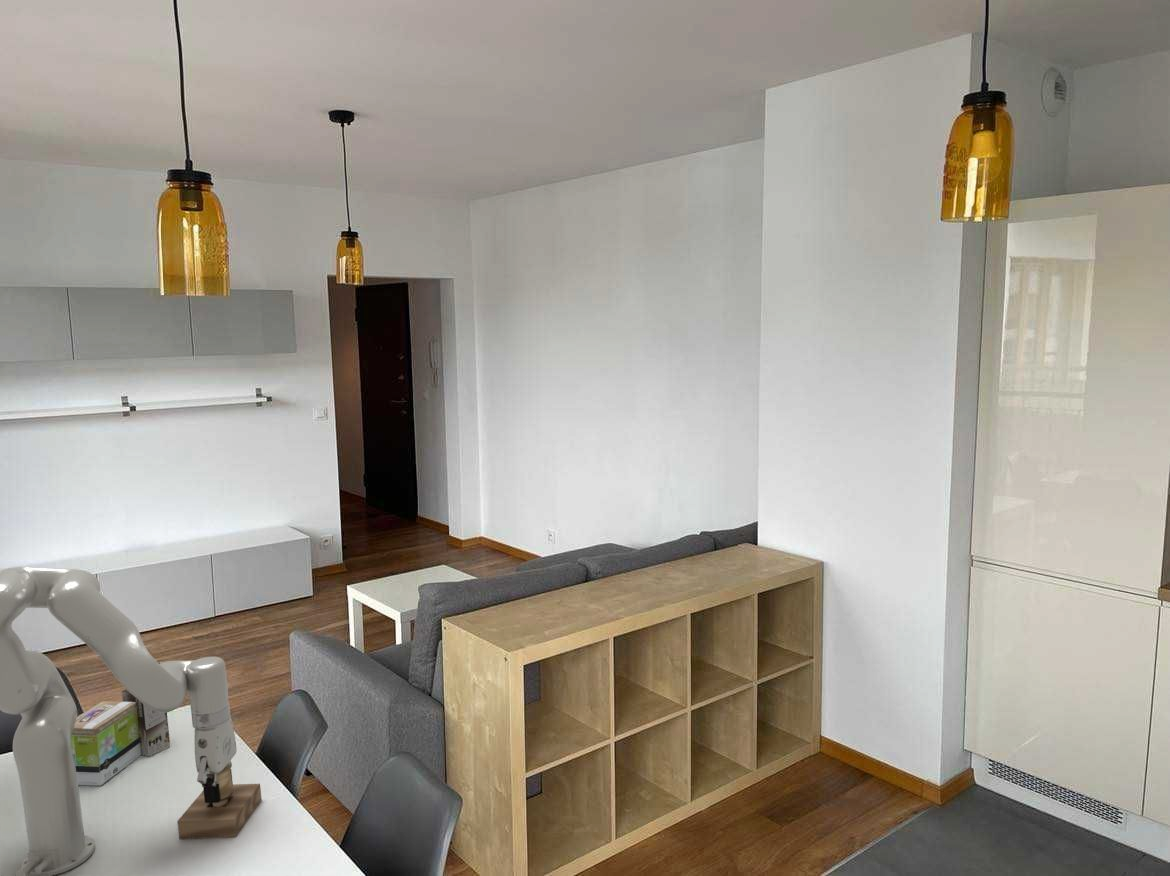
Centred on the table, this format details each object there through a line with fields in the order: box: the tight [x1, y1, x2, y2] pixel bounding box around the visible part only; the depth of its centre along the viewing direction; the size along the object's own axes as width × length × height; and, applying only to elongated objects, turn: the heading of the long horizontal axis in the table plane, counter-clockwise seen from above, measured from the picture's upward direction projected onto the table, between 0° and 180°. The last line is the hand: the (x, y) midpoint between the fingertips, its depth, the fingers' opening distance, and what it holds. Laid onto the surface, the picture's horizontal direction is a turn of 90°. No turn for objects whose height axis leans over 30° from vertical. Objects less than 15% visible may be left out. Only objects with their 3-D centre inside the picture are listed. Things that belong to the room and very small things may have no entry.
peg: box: [207, 764, 233, 807], centre depth 183 cm, size 5×5×10 cm
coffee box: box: [121, 688, 171, 757], centre depth 217 cm, size 9×6×16 cm
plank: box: [176, 783, 263, 840], centre depth 184 cm, size 14×12×4 cm
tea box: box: [71, 700, 142, 787], centre depth 206 cm, size 15×10×15 cm
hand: (219, 793), depth 183 cm, fingers closed on peg, 5 cm apart
